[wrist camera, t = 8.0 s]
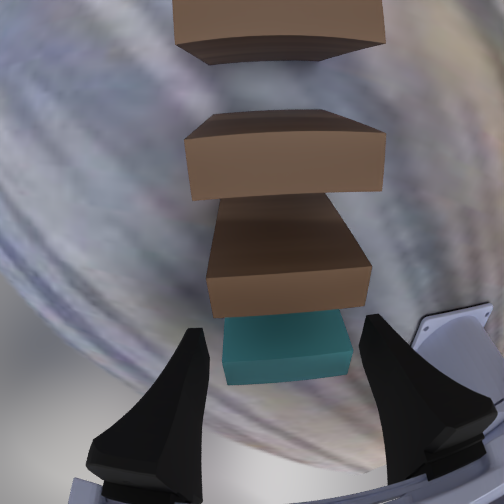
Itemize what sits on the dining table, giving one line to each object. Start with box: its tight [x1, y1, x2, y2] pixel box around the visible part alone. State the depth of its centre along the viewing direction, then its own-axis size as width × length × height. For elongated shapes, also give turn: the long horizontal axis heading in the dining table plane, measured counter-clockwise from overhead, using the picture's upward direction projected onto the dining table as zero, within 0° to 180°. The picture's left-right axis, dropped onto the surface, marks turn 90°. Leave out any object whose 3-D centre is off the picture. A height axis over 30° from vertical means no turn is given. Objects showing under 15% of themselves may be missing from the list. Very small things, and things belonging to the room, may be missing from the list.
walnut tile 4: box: [172, 0, 386, 65], centre depth 8 cm, size 2×5×7 cm, turn 94°
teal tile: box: [222, 309, 353, 385], centre depth 14 cm, size 2×5×7 cm, turn 94°
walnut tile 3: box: [184, 110, 386, 201], centre depth 10 cm, size 2×5×7 cm, turn 94°
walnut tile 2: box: [206, 193, 372, 318], centre depth 12 cm, size 2×5×7 cm, turn 93°
